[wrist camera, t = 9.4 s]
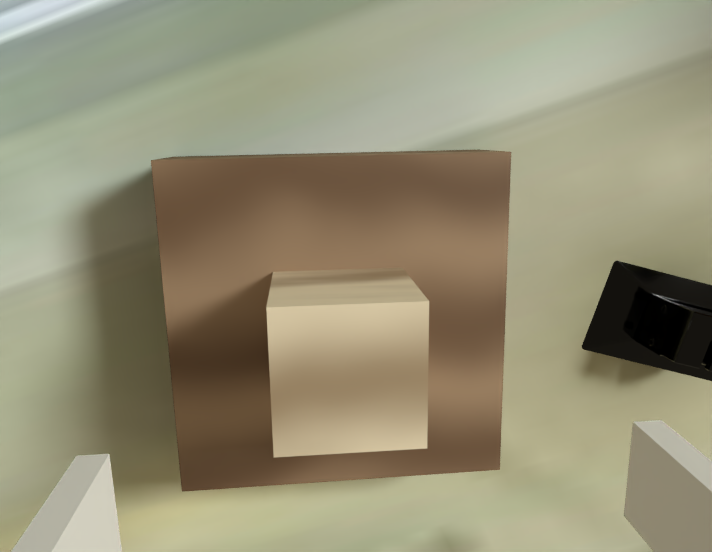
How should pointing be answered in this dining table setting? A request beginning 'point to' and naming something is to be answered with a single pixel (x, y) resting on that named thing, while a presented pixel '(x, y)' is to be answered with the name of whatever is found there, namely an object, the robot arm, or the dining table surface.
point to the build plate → (654, 321)
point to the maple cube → (347, 361)
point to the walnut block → (329, 252)
